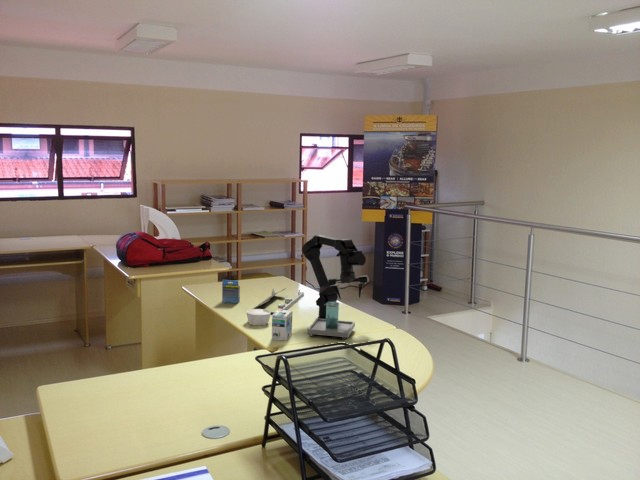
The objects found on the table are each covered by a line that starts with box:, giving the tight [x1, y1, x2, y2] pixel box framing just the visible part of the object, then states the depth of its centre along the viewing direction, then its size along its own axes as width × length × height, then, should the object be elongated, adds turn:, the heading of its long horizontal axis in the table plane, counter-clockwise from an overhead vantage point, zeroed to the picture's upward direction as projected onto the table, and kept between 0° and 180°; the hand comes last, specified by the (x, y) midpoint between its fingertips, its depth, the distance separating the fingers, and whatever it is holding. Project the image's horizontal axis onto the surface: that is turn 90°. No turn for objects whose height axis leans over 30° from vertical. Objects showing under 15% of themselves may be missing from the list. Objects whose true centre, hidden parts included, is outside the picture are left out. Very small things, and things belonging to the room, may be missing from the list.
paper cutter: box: [252, 287, 305, 314], centre depth 317 cm, size 18×45×6 cm, turn 166°
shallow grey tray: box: [307, 317, 356, 341], centre depth 268 cm, size 18×18×4 cm
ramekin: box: [246, 308, 272, 326], centre depth 281 cm, size 11×11×5 cm
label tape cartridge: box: [221, 279, 241, 304], centre depth 317 cm, size 9×4×12 cm, turn 84°
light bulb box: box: [271, 308, 293, 341], centre depth 261 cm, size 11×7×11 cm, turn 168°
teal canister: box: [326, 301, 340, 329], centre depth 267 cm, size 6×6×11 cm
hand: (350, 298), depth 281 cm, fingers open, 9 cm apart
